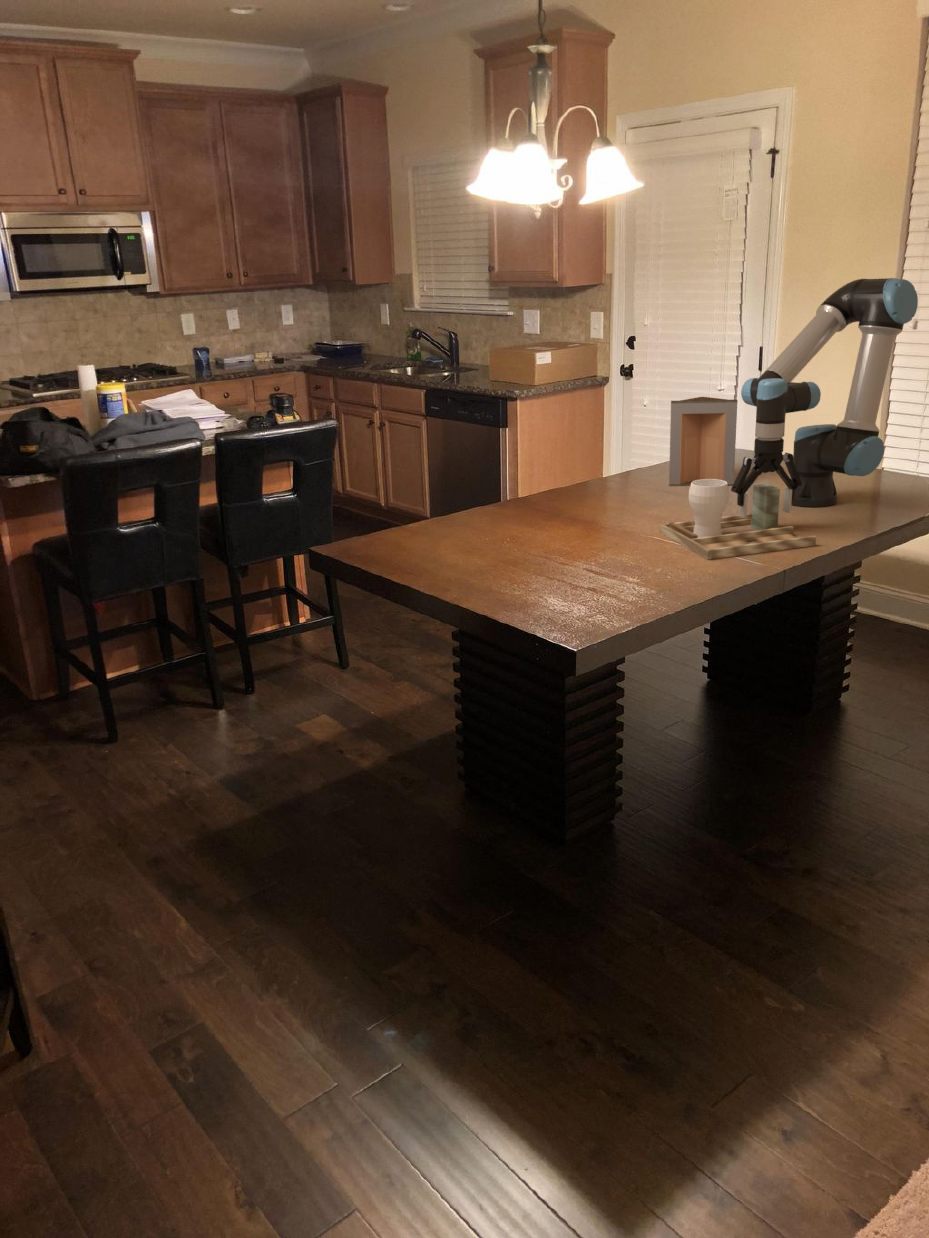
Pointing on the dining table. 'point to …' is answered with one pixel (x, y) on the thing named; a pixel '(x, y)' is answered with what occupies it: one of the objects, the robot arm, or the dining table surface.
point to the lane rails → (738, 540)
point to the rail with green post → (762, 512)
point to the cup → (708, 505)
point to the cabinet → (702, 440)
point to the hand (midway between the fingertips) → (764, 514)
